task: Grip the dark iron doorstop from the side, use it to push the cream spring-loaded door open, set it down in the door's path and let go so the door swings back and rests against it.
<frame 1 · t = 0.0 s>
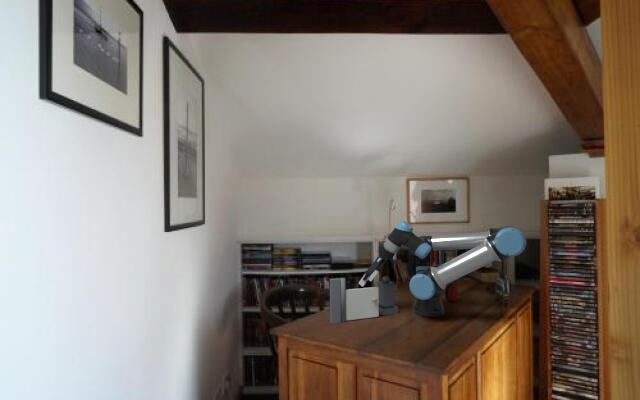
hand: (364, 282, 185), 15 cm above the table, tool tilted 35°, fingers open, 13 cm apart
headphones: (442, 299, 210), on the table
door: (362, 303, 174), point 8 cm above the table, hinge at 0.0°
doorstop: (385, 311, 187), on the table
wall frame: (342, 321, 171), on the table
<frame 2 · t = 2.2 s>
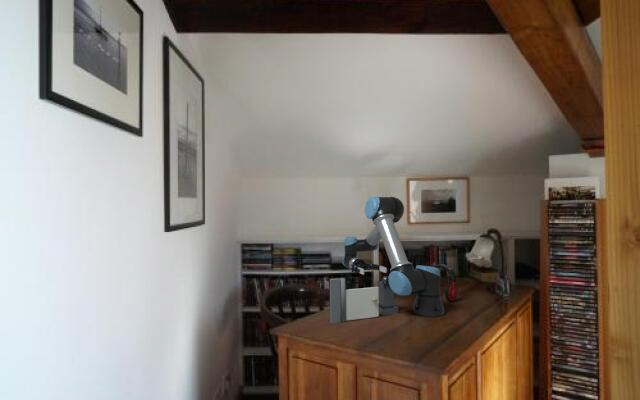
hand: (375, 271, 198), 19 cm above the table, tool horizontal, fingers open, 13 cm apart
nothing on the table moved.
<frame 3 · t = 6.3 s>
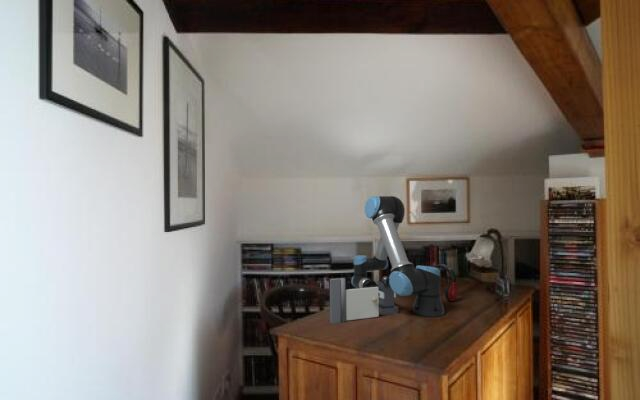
hand: (389, 295, 183), 9 cm above the table, tool horizontal, fingers closed on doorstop, 6 cm apart
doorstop: (385, 311, 187), on the table, touching gripper
everything else where it was.
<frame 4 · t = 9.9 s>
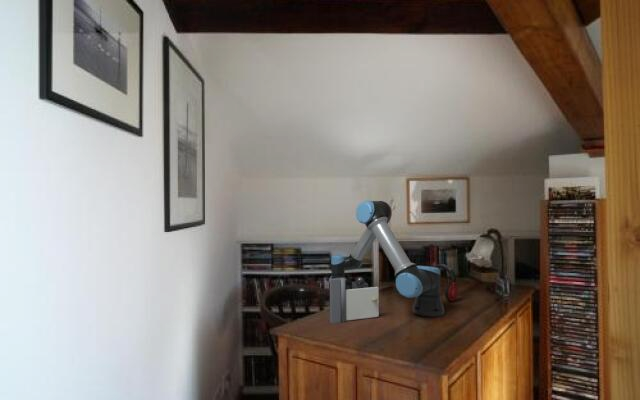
hand: (363, 295, 180), 10 cm above the table, tool horizontal, fingers closed on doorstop, 6 cm apart
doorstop: (359, 312, 185), on the table, touching gripper
everything else where it was.
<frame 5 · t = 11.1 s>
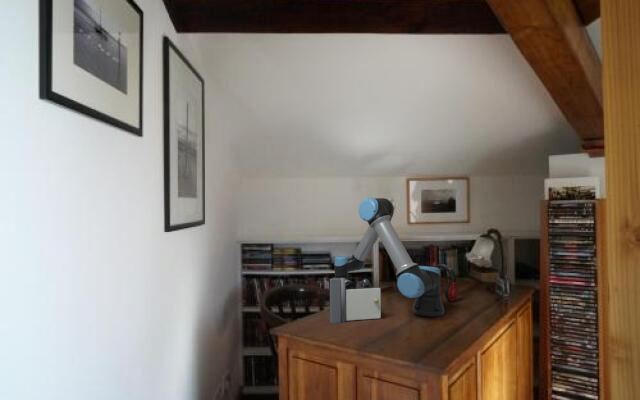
hand: (368, 297, 175), 10 cm above the table, tool horizontal, fingers closed on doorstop, 6 cm apart
door: (363, 304, 172), point 8 cm above the table, hinge at 7.4°, touching gripper
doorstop: (360, 309, 184), point 2 cm above the table, tilted 23°, touching gripper
everything else where it was.
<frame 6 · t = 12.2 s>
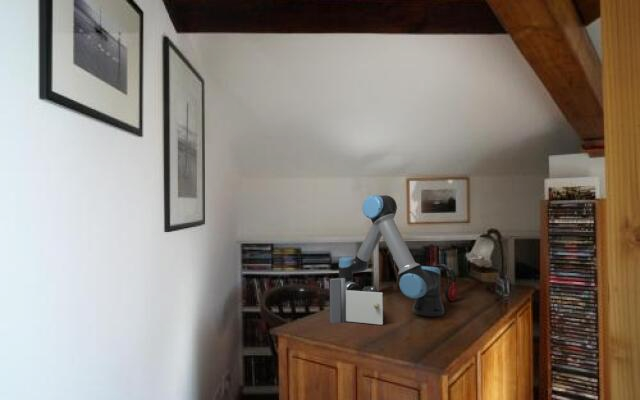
hand: (373, 301, 170), 10 cm above the table, tool horizontal, fingers closed on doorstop, 6 cm apart
door: (363, 307, 167), point 8 cm above the table, hinge at 38.0°, touching gripper
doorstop: (362, 308, 181), point 3 cm above the table, tilted 45°, touching gripper
everything else where it was.
when the fingers open (10 cm above the table, at t = 14.0 s): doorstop stays where it is and tips over, point 4 cm above the table.
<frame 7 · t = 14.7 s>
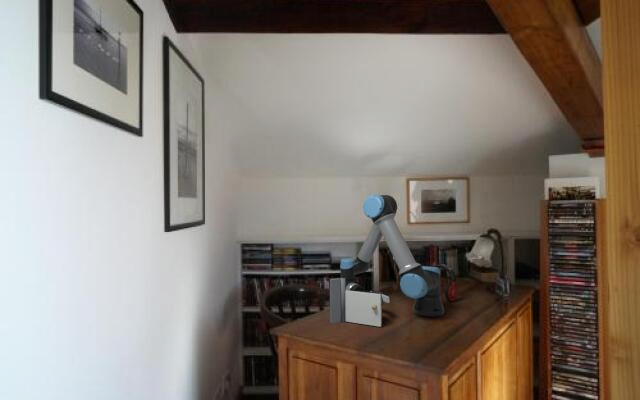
hand: (376, 301, 169), 10 cm above the table, tool horizontal, fingers open, 12 cm apart
door: (362, 308, 166), point 8 cm above the table, hinge at 47.6°, touching gripper
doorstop: (364, 308, 179), point 4 cm above the table, tilted 58°
everything else where it was.
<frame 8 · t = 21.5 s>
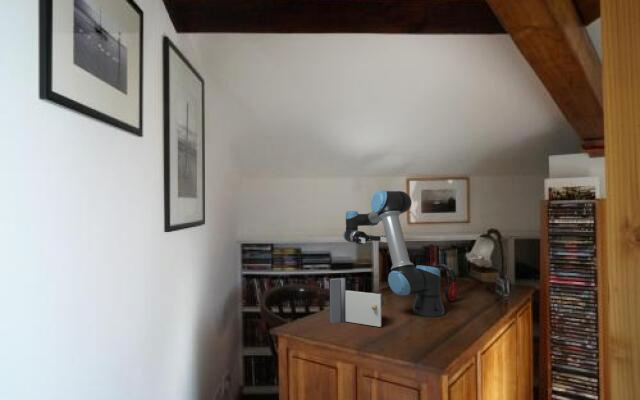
hand: (376, 240, 199), 35 cm above the table, tool horizontal, fingers open, 13 cm apart
door: (362, 308, 165), point 7 cm above the table, hinge at 48.1°, touching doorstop
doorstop: (364, 308, 179), point 4 cm above the table, tilted 59°, touching door
everything else where it was.
at the end: door at +48° (first picture: +0°); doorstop touching door, table; the gripper is holding nothing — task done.
